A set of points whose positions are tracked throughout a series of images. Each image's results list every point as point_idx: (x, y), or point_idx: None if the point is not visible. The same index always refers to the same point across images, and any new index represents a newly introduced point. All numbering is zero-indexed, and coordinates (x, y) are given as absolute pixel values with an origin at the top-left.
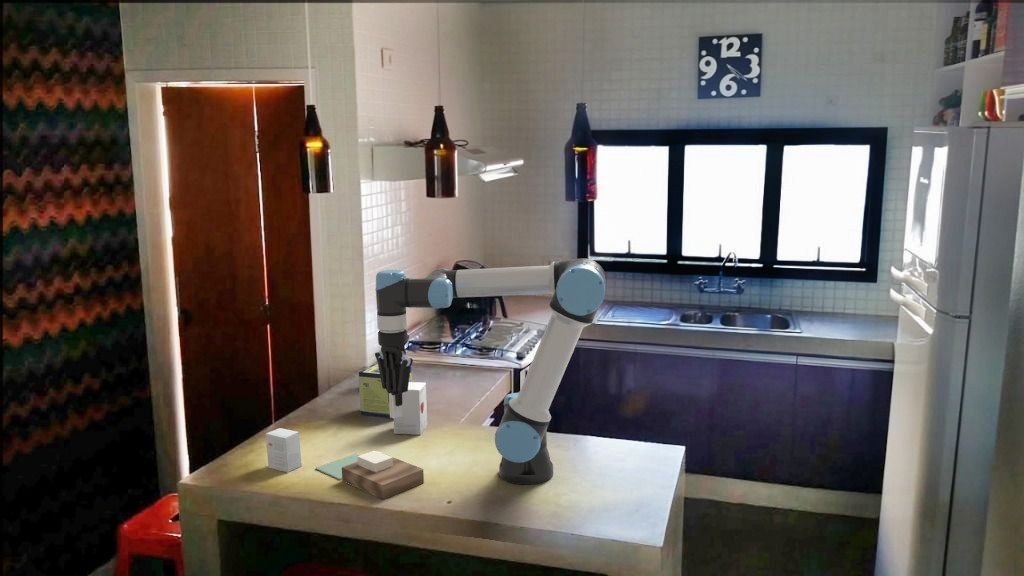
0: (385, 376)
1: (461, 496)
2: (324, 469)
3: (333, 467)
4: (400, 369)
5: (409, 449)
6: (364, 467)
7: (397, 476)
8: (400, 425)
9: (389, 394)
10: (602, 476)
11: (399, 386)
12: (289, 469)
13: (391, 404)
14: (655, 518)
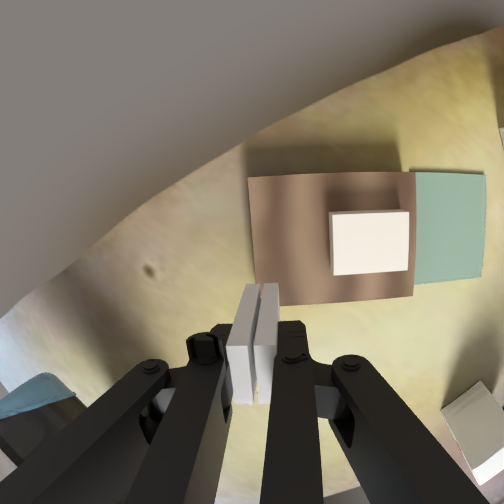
0: (364, 443)
1: (154, 302)
2: (468, 181)
3: (465, 201)
4: (29, 494)
5: (417, 368)
6: (374, 210)
7: (265, 236)
8: (477, 397)
9: (270, 341)
10: None
11: (127, 391)
12: (502, 131)
13: (260, 313)
14: (8, 387)
